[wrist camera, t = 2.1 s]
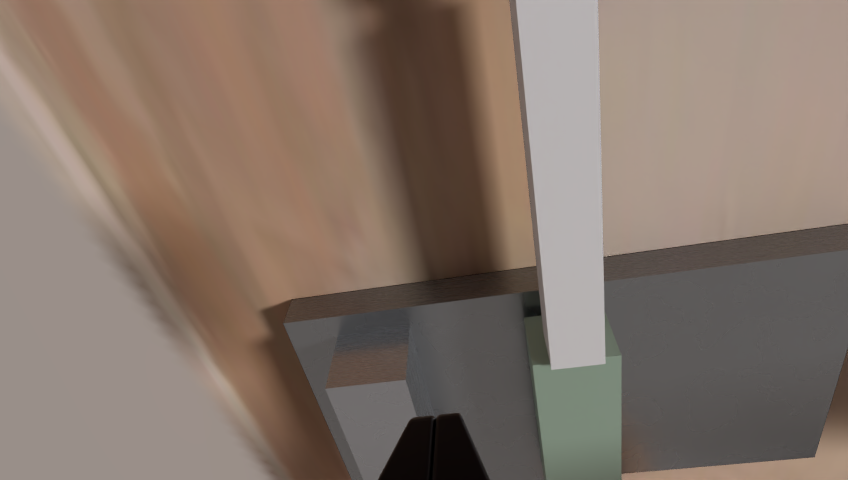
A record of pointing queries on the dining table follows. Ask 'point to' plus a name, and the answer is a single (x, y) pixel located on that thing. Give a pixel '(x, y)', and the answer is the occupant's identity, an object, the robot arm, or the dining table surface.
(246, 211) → the dining table surface
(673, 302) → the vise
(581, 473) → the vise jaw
